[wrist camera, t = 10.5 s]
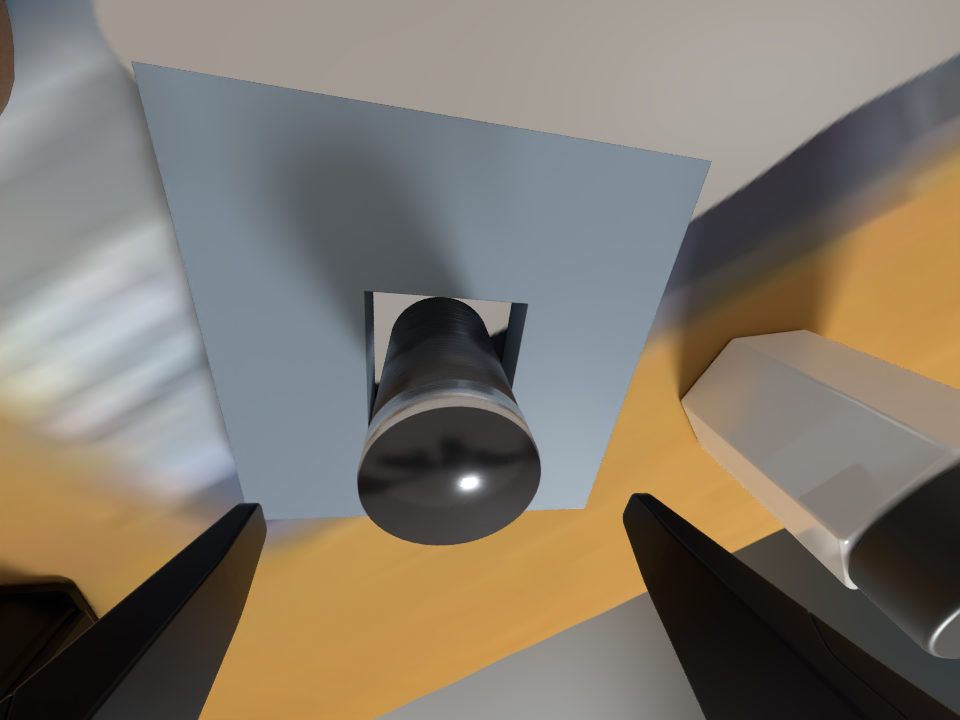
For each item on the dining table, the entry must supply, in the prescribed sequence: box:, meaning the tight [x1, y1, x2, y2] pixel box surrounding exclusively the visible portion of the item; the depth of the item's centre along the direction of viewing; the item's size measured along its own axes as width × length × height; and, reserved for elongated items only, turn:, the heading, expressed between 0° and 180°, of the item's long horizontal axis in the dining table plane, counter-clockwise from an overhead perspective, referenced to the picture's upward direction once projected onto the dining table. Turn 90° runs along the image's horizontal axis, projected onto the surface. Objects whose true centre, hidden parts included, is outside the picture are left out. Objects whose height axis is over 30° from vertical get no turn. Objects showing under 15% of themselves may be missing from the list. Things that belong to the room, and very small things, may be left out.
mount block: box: [132, 61, 711, 520], centre depth 16 cm, size 18×18×2 cm
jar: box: [681, 330, 960, 658], centre depth 16 cm, size 9×8×12 cm
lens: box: [357, 297, 541, 545], centre depth 13 cm, size 5×5×9 cm
